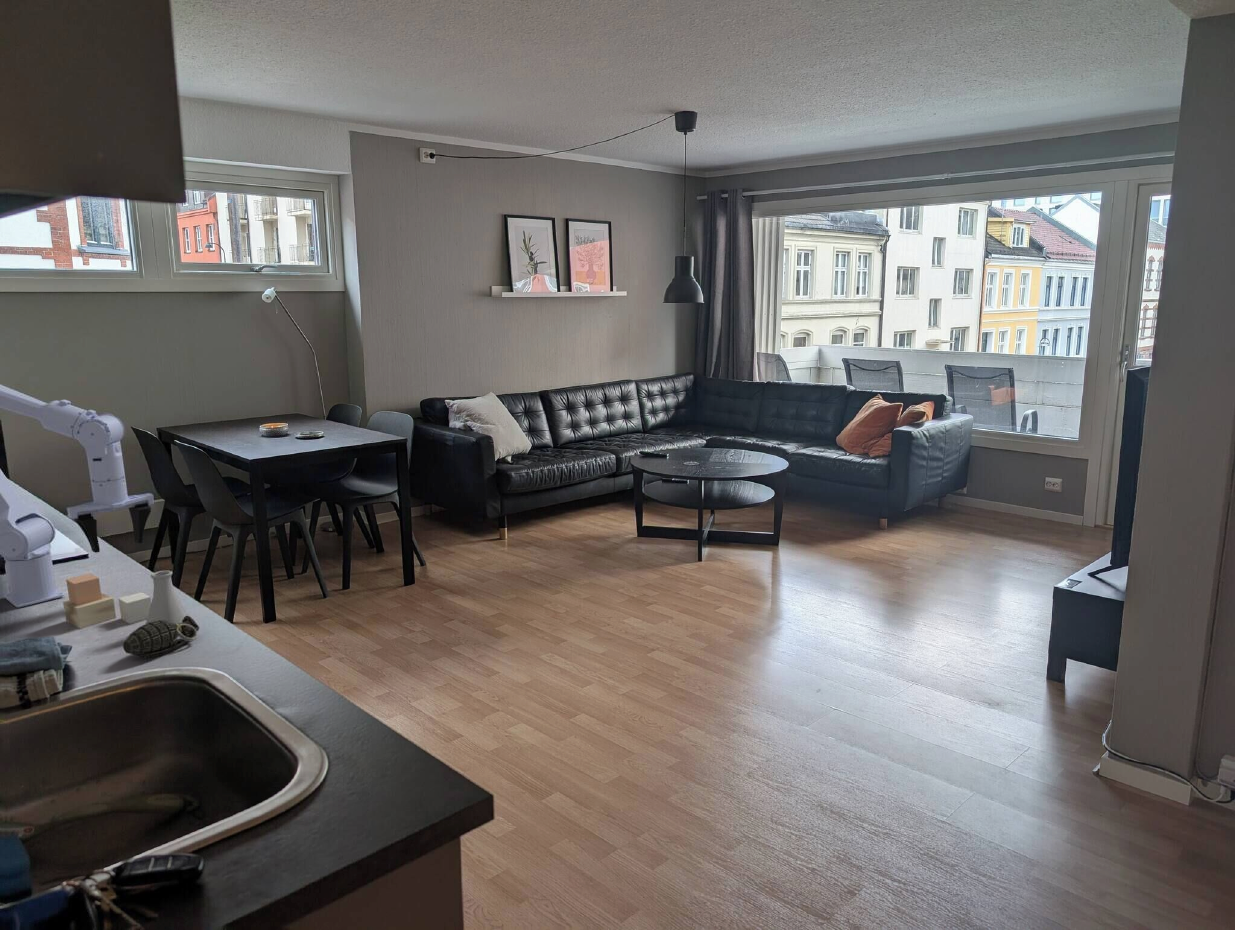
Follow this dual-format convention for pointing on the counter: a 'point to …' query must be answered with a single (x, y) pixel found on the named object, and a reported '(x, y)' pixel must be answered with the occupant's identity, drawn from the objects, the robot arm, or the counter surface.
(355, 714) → the counter surface
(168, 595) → the flask
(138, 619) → the cream cube
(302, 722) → the counter surface
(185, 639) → the grenade
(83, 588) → the brown cube
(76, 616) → the beech block
